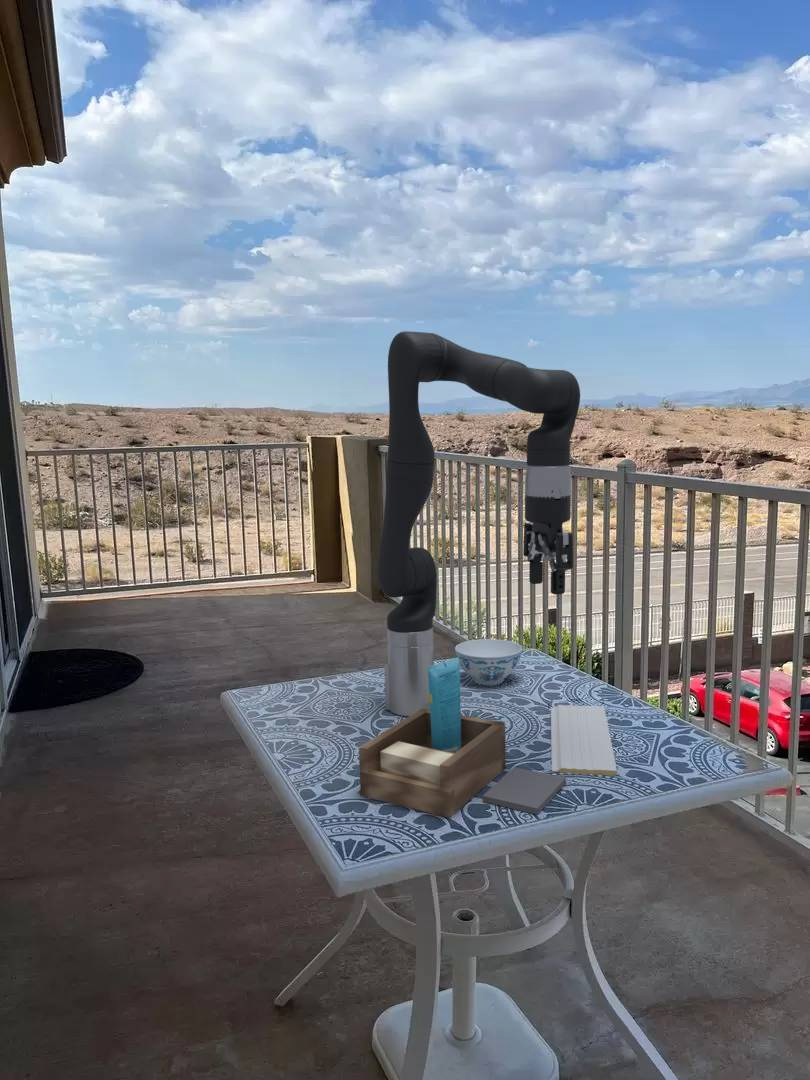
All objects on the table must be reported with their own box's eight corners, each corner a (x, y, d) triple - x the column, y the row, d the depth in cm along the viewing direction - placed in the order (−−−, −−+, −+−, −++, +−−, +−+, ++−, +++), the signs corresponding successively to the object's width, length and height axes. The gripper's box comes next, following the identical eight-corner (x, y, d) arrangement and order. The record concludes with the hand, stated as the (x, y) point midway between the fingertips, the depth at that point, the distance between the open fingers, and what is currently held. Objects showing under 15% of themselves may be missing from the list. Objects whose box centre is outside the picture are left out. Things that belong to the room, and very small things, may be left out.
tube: (449, 762, 142) (446, 654, 140) (471, 769, 139) (469, 659, 136) (421, 777, 137) (418, 664, 134) (445, 784, 133) (442, 670, 131)
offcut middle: (380, 781, 131) (380, 767, 130) (398, 770, 135) (397, 756, 134) (440, 797, 125) (440, 781, 124) (456, 785, 129) (456, 770, 129)
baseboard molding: (542, 775, 137) (616, 779, 135) (542, 759, 137) (617, 762, 135) (543, 711, 168) (604, 713, 165) (543, 697, 167) (604, 699, 165)
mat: (482, 801, 127) (482, 795, 127) (514, 772, 137) (514, 767, 137) (537, 814, 122) (537, 808, 122) (565, 783, 133) (565, 777, 132)
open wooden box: (360, 795, 130) (358, 747, 129) (423, 751, 147) (422, 708, 146) (449, 818, 122) (448, 766, 121) (505, 768, 139) (505, 722, 138)
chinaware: (529, 674, 191) (528, 641, 190) (513, 694, 177) (513, 659, 176) (466, 668, 196) (466, 637, 195) (447, 687, 182) (446, 654, 181)
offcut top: (380, 766, 130) (380, 751, 130) (398, 755, 135) (398, 741, 134) (439, 782, 124) (439, 766, 124) (456, 770, 128) (456, 754, 128)
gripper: (510, 489, 142) (509, 582, 144) (545, 497, 128) (544, 599, 131) (550, 488, 144) (548, 579, 146) (588, 495, 130) (586, 595, 133)
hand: (546, 588), depth 139 cm, fingers open, 8 cm apart
